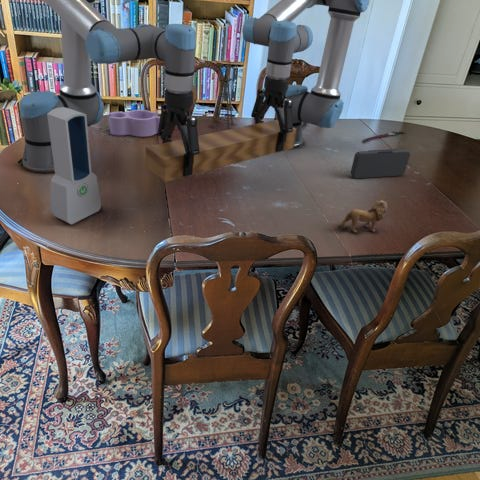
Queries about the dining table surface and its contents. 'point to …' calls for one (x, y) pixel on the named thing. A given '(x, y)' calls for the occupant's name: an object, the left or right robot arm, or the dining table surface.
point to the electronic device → (71, 167)
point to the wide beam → (217, 150)
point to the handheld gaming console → (380, 163)
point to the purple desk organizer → (134, 123)
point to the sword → (382, 136)
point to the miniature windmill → (224, 79)
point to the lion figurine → (366, 215)
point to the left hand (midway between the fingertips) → (177, 168)
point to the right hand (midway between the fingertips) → (268, 145)
